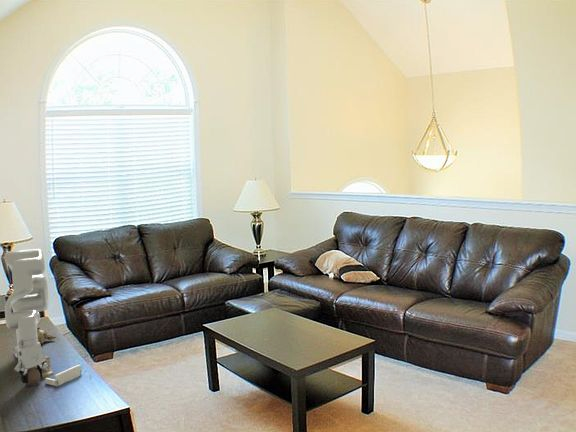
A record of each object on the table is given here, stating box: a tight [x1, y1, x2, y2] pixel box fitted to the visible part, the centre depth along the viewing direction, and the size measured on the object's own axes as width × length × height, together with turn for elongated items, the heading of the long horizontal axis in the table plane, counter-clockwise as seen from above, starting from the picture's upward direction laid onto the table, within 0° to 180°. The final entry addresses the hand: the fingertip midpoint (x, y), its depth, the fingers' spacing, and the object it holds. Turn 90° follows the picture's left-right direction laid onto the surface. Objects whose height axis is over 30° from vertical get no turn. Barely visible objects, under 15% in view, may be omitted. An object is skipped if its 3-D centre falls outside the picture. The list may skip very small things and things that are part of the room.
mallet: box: [42, 363, 49, 372], centre depth 273 cm, size 14×5×8 cm, turn 62°
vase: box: [24, 367, 41, 387], centre depth 260 cm, size 7×7×9 cm
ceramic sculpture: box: [37, 327, 57, 345], centre depth 320 cm, size 11×9×15 cm
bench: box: [35, 355, 54, 379], centre depth 272 cm, size 13×8×7 cm, turn 62°
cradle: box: [44, 364, 82, 387], centre depth 264 cm, size 8×14×5 cm, turn 152°
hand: (32, 379), depth 260 cm, fingers closed on vase, 7 cm apart
